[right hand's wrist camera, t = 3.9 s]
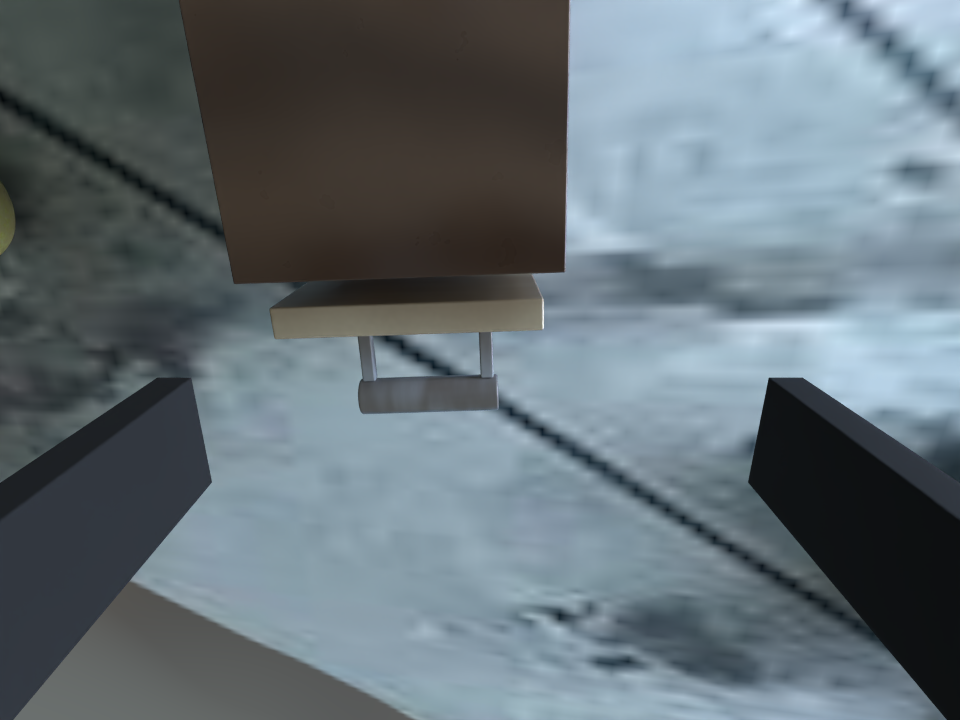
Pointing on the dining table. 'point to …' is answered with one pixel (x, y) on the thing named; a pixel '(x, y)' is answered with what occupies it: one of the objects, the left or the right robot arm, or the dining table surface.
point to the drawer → (415, 330)
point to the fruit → (6, 219)
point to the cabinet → (385, 135)
